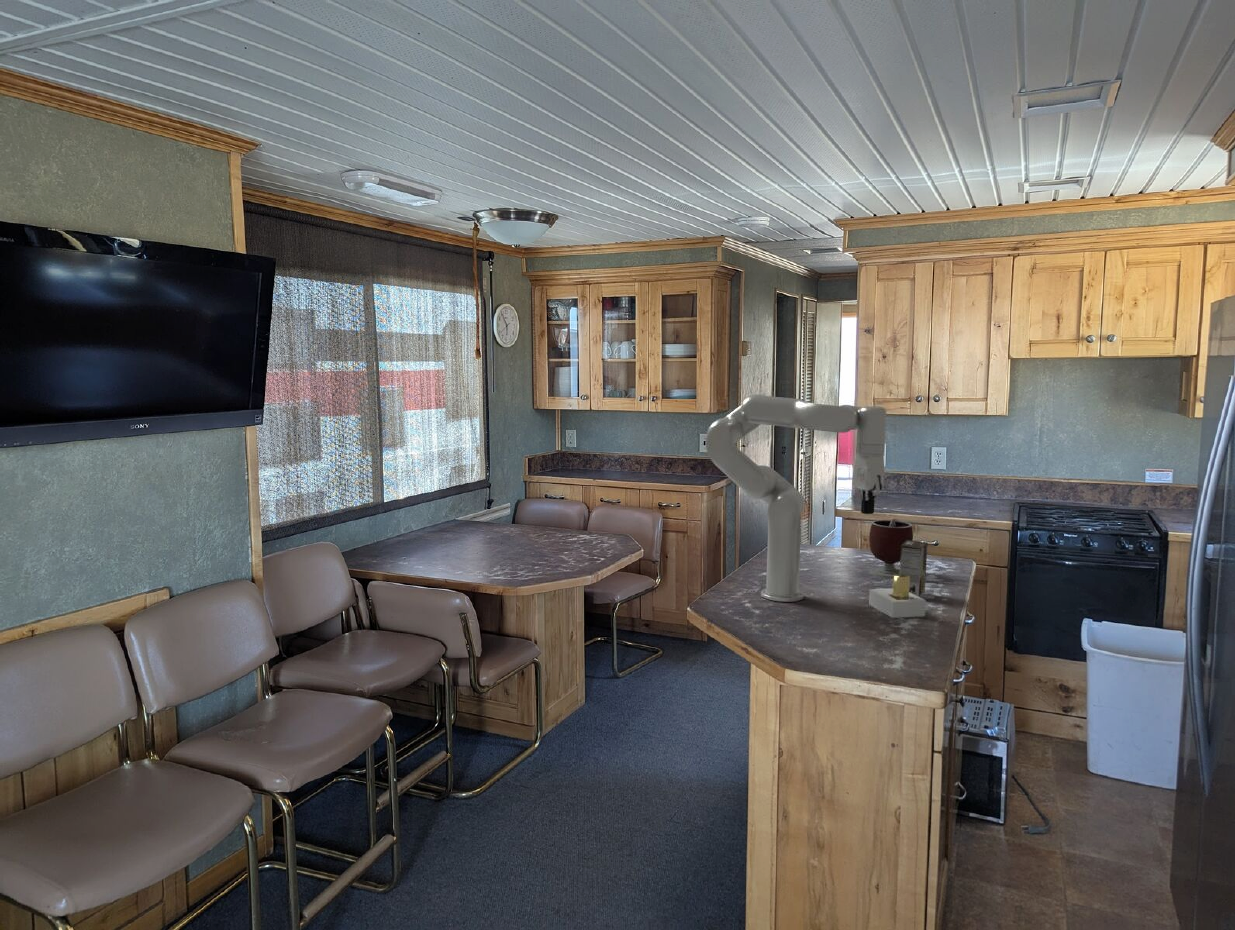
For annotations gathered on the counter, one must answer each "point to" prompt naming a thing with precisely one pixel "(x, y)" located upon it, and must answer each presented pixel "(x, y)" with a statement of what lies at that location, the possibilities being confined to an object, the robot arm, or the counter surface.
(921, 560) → the coffee box
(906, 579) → the cylinder
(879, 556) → the dark red goblet
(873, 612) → the counter surface
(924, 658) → the counter surface
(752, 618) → the counter surface
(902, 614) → the block
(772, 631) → the counter surface
